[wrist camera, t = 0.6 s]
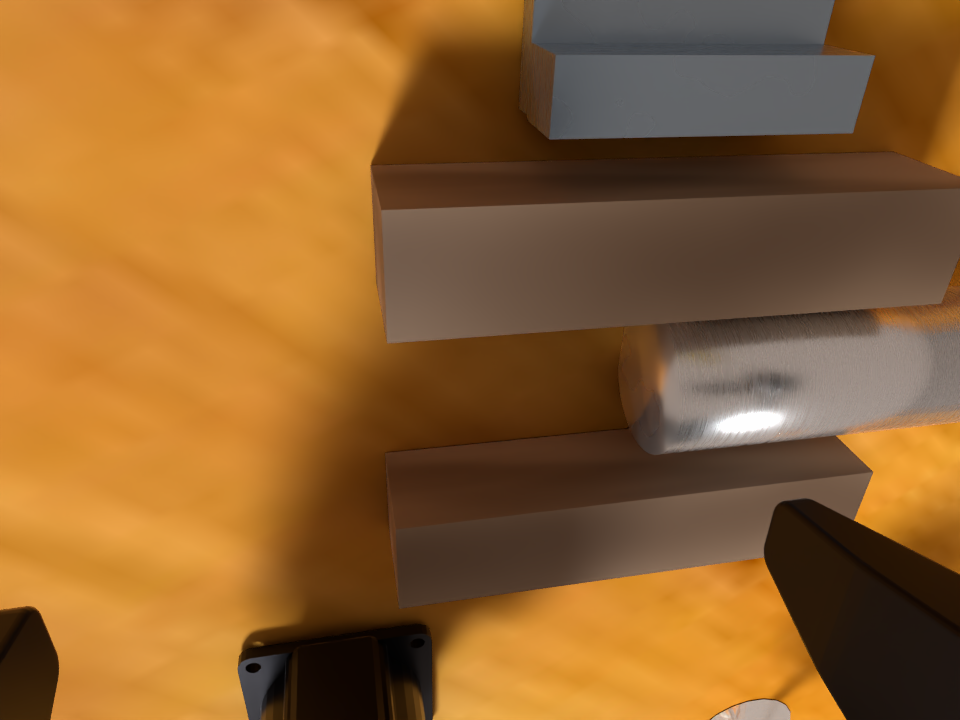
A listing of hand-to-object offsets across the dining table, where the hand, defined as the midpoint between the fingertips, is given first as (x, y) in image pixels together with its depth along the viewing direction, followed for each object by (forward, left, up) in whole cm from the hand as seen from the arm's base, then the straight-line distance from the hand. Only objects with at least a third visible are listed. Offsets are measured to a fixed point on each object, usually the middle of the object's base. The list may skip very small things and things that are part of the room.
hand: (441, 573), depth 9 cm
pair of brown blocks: (-4, -7, -11) cm, 13 cm away
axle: (-3, -12, -9) cm, 15 cm away
